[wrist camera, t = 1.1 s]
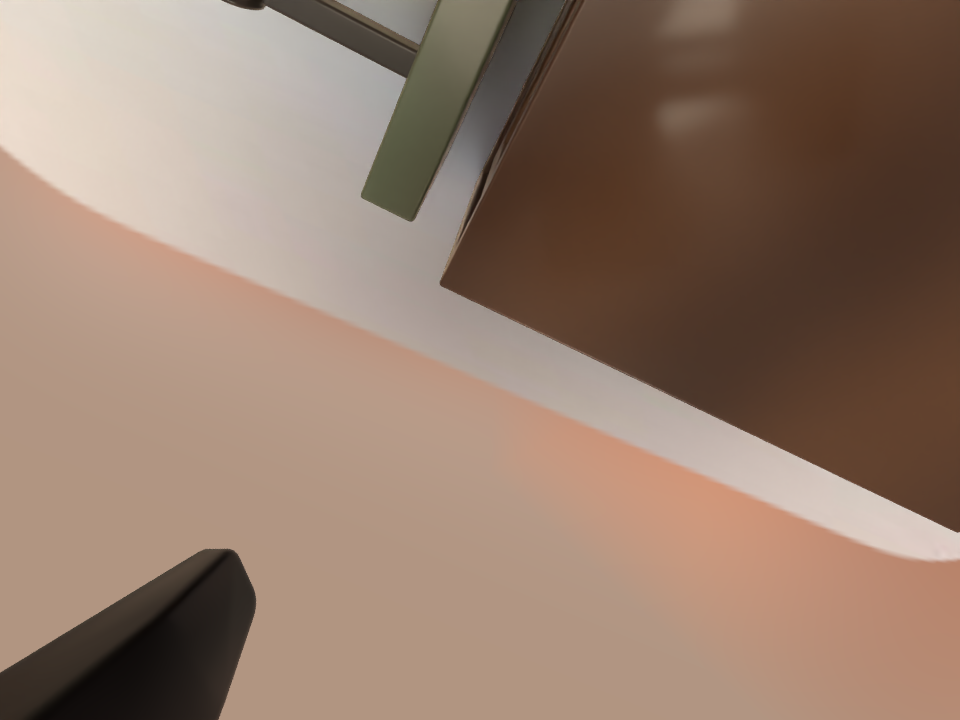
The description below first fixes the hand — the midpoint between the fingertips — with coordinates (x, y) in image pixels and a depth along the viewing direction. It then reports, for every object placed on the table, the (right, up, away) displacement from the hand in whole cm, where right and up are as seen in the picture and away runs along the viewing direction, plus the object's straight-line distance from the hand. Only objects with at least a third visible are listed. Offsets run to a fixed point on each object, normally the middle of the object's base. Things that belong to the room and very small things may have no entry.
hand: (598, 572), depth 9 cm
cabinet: (+7, +9, +10) cm, 15 cm away
